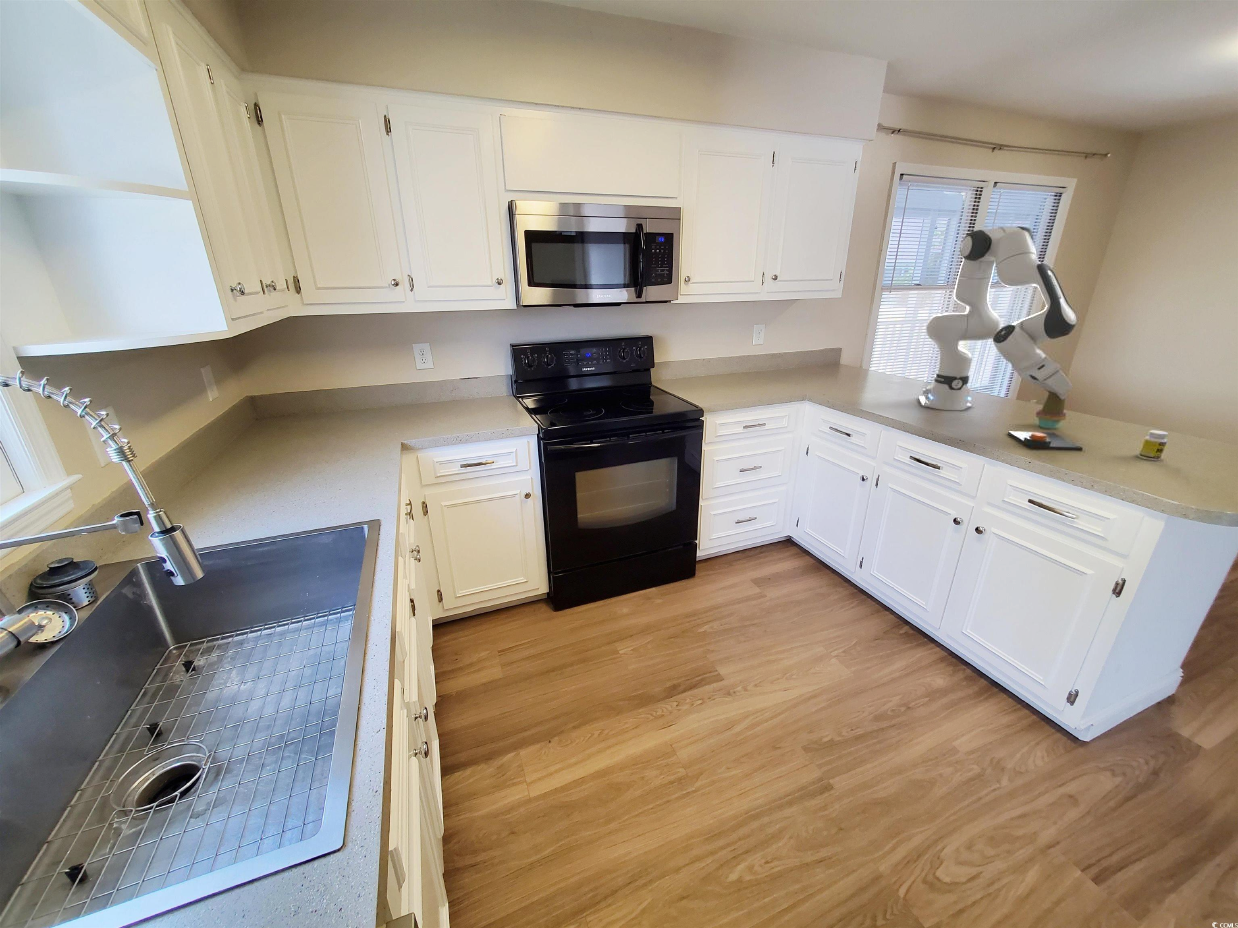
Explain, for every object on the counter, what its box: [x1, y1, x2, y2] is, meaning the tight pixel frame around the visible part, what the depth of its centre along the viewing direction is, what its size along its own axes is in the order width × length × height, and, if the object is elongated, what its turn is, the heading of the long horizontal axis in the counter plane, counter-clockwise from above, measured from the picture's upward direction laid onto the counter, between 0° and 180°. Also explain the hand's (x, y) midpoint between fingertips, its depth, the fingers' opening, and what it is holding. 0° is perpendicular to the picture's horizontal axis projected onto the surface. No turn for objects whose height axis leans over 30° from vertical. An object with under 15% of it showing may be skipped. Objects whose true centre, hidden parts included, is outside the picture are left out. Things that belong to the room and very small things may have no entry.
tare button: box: [1030, 431, 1047, 440], centre depth 163 cm, size 4×4×2 cm
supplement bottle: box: [1138, 429, 1169, 461], centre depth 150 cm, size 5×5×8 cm
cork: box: [1041, 391, 1066, 415], centre depth 165 cm, size 6×6×11 cm
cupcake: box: [1035, 408, 1067, 429], centre depth 181 cm, size 9×8×12 cm
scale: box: [1007, 431, 1083, 452], centre depth 168 cm, size 16×15×3 cm
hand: (1059, 395), depth 165 cm, fingers closed on cork, 4 cm apart
